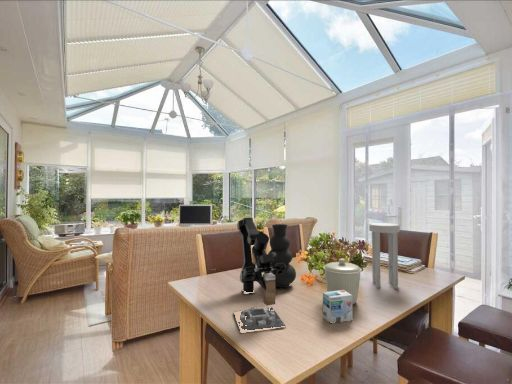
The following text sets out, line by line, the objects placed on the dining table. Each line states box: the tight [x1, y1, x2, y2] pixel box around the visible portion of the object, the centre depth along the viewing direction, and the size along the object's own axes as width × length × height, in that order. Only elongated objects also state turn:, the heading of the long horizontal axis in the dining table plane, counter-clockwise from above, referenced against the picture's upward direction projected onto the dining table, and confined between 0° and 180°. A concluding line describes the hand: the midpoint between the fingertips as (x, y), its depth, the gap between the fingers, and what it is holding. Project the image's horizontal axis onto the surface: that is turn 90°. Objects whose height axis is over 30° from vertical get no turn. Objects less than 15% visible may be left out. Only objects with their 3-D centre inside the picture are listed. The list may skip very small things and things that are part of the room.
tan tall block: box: [262, 273, 276, 307], centre depth 114 cm, size 4×4×12 cm
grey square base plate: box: [238, 306, 286, 330], centre depth 114 cm, size 18×18×4 cm
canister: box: [322, 258, 363, 306], centre depth 133 cm, size 18×18×21 cm
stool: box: [368, 222, 401, 290], centre depth 157 cm, size 16×16×35 cm
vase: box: [263, 223, 297, 288], centre depth 157 cm, size 18×18×35 cm
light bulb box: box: [322, 290, 353, 324], centre depth 115 cm, size 11×7×11 cm, turn 105°
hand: (270, 288), depth 113 cm, fingers closed on tan tall block, 4 cm apart
